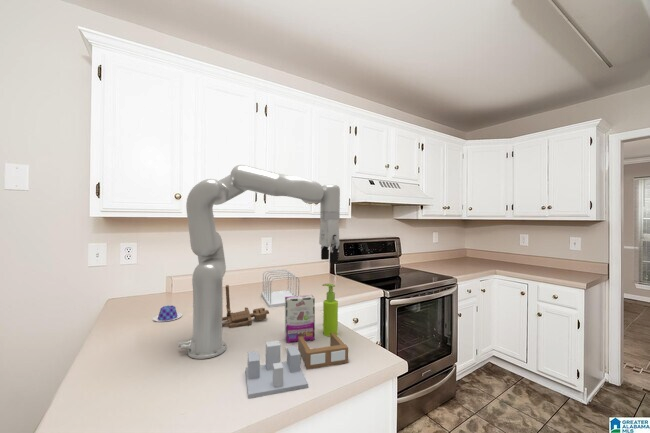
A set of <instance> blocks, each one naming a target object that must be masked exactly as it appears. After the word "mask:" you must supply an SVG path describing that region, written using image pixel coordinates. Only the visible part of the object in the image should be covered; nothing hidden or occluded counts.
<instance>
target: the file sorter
mask: <svg viewBox="0 0 650 433" xmlns="http://www.w3.org/2000/svg"><path fill="white" fill-rule="evenodd" d="M271 278H272V279H271ZM270 279H271V280H270ZM277 279H287V290H277V291H275V290H274V291H272V282H273V280H277ZM289 280H290V281H289ZM289 282H290V283H289ZM289 284H290V285H289ZM297 287H298V288H297ZM289 288H290V289H289ZM294 288H295V289H294ZM294 291H295V292H294ZM260 296H261V297H262V299H263V300H264V303H265V304H266V305H267V307H268V308H277V307H279V308H280V307H285V297H290V296H300V278H299V277H298V276H296V275H295V274H293V273H292V272H290V271H289V270H287V269H273V270H270V269H269V270H265V271H264V272H263V274H262V292H261V295H260Z"/></svg>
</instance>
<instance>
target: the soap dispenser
mask: <svg viewBox="0 0 650 433" xmlns="http://www.w3.org/2000/svg"><path fill="white" fill-rule="evenodd" d="M323 286H325V287H328V291H327V292H326V299H324V300H323V307H322V308H323V309H322V315H323V316H322V323H323V324H322V334H323V336H325V337H329V338H330V333H335V334H336V335H337V336H338V331H339V329H338V320H339V319H338V318H339V317H338V316H339V314H338V311H339V302H338V300H336V299H335V298H336V297H335V295H336V293H335V292H334V287H336V285H335V284H332V283H323V284H322V287H323Z"/></svg>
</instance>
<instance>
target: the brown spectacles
mask: <svg viewBox="0 0 650 433" xmlns="http://www.w3.org/2000/svg"><path fill="white" fill-rule="evenodd" d="M329 338H330V340H329V341H330V342H329V345H328V346H321V347H316V348H314V347H313V348H310V346H309V345H308V343H307V341H305V340H304V338H303V337H298V342H297V348H298V350H299V352H300V354H301V360H302V362H303V364H304V368H305V369H306V370H313V369H318V368H324V367H330V366H337V365H338V366H339V365H343V364H348V363H349V346H348V345H347V344H346V343H345V342H343V340H342V339H341V338H340V337H339V336H338V334H337V335H336V334H335V333H330V337H329Z"/></svg>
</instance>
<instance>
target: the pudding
mask: <svg viewBox="0 0 650 433" xmlns="http://www.w3.org/2000/svg"><path fill="white" fill-rule="evenodd" d="M182 316H183V314H182V313H181V312H177V309H176V306H175V305H163V306H162V307H161V308H160V309H159V314H158V315H155V316H153V318H152V320H153V321H154V322H169V321H174V320H176V319H177V320H178V319H179V318H182Z"/></svg>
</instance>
